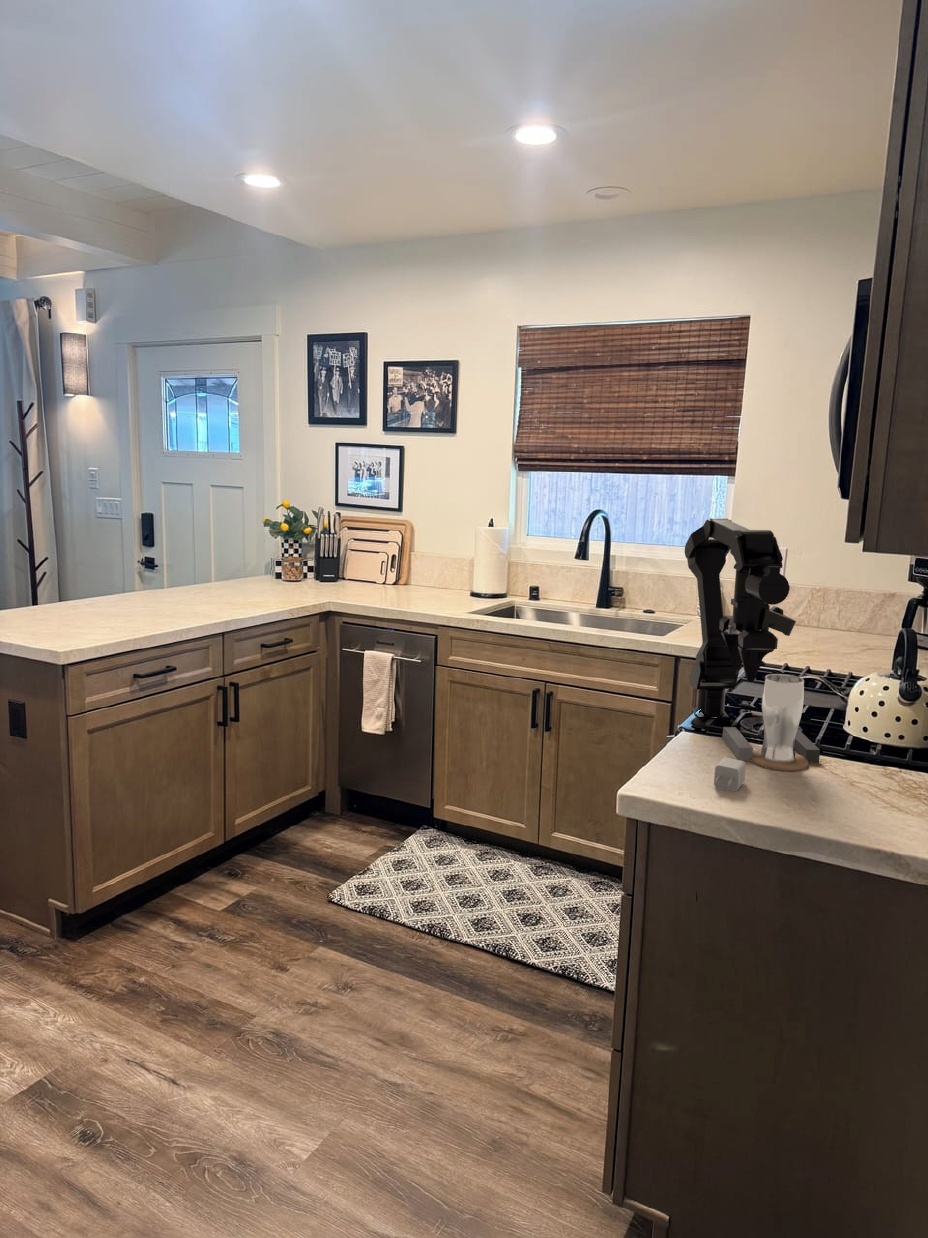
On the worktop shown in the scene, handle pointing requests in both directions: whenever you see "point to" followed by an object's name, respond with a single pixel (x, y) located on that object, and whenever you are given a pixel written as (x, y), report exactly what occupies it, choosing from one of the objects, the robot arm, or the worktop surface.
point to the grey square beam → (737, 743)
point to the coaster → (794, 766)
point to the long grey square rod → (806, 747)
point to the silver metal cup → (781, 716)
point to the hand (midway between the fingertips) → (743, 675)
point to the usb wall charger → (729, 774)
